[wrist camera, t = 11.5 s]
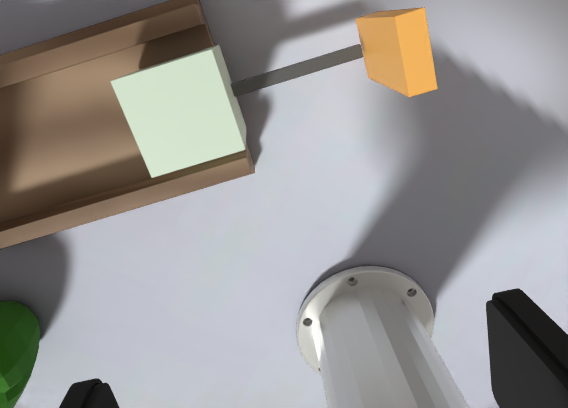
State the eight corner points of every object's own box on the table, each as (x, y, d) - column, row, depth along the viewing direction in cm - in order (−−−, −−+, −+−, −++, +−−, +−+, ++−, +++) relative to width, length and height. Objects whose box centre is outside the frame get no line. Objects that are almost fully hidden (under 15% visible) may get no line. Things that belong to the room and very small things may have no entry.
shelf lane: (254, 167, 36) (256, 285, 20) (-3, 244, 37) (-202, 416, 21) (197, -7, 31) (136, -38, 15) (-97, 88, 32) (-451, 154, 16)
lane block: (389, 84, 33) (440, 107, 24) (168, 152, 33) (138, 198, 25) (372, -4, 30) (421, -15, 22) (135, 70, 31) (89, 89, 22)
